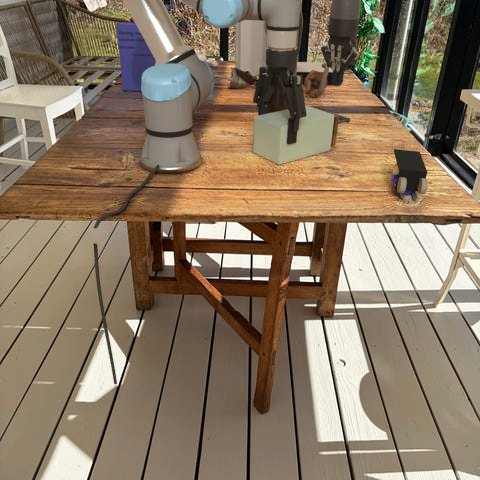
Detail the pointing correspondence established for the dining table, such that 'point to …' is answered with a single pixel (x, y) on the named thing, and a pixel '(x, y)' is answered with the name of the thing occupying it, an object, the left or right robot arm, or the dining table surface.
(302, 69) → the disc drive
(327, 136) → the pale green rectangular box
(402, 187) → the figurine character
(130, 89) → the cereal box
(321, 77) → the anatomical model
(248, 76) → the figurine
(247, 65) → the tall white carton
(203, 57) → the toy
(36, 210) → the dining table surface
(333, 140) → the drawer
